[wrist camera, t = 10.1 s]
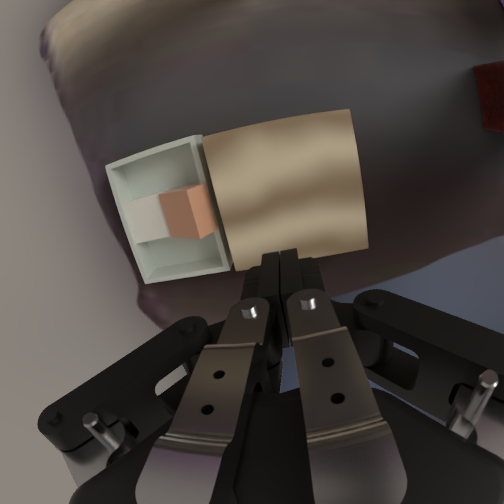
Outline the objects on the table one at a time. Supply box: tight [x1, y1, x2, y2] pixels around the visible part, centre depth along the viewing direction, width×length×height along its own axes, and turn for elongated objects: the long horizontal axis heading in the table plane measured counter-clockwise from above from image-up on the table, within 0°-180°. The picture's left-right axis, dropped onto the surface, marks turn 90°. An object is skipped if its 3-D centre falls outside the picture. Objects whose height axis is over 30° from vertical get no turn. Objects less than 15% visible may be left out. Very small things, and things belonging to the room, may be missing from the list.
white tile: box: [123, 188, 171, 244], centre depth 32 cm, size 5×5×2 cm
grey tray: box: [105, 135, 233, 284], centre depth 32 cm, size 15×11×4 cm
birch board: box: [201, 109, 368, 271], centre depth 29 cm, size 14×14×5 cm
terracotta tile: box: [158, 183, 217, 239], centre depth 30 cm, size 5×5×2 cm
